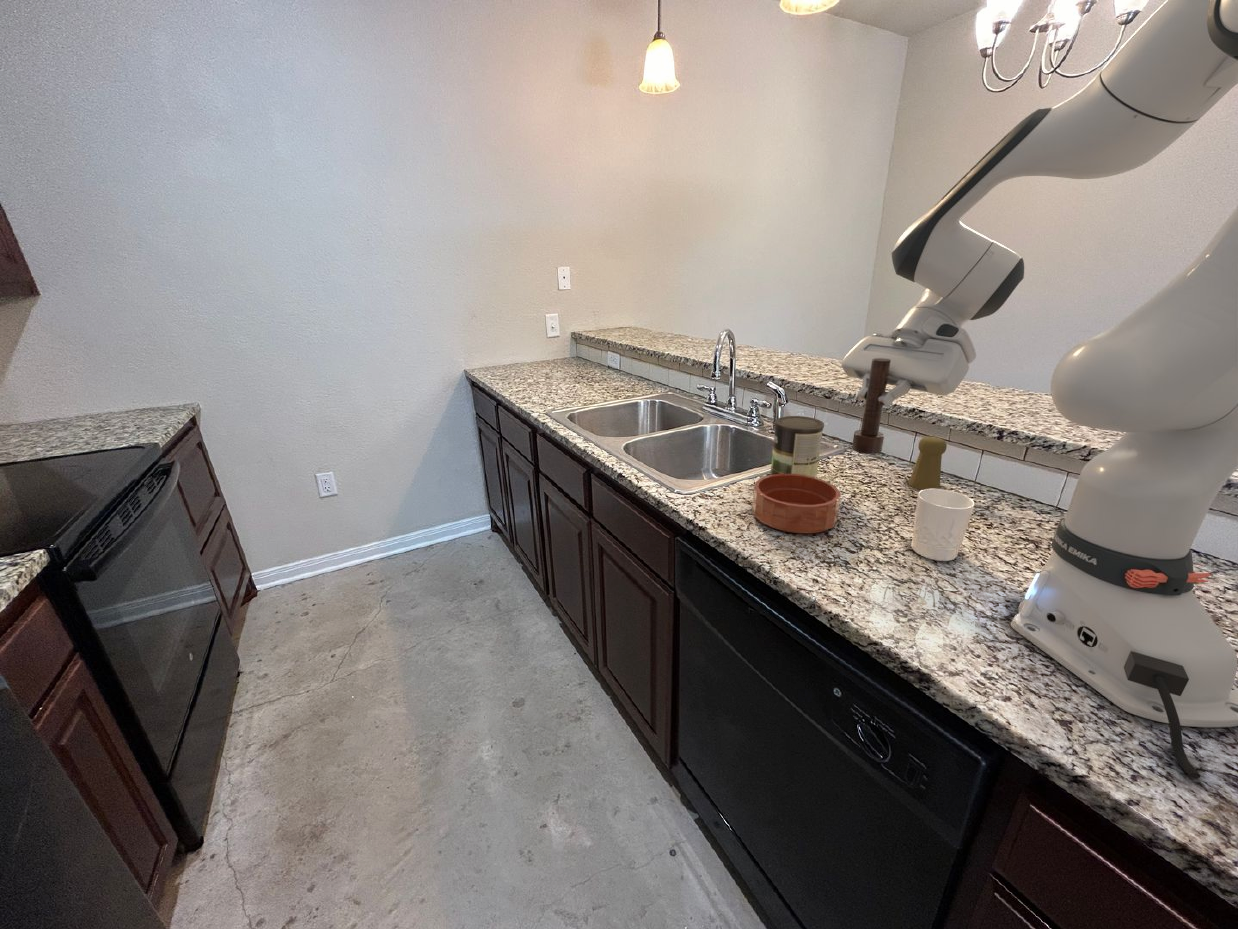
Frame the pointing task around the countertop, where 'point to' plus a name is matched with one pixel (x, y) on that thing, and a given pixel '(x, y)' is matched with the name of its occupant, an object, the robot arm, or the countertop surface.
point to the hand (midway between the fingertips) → (872, 401)
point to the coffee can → (796, 445)
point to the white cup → (940, 523)
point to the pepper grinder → (928, 464)
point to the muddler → (872, 410)
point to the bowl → (796, 503)
